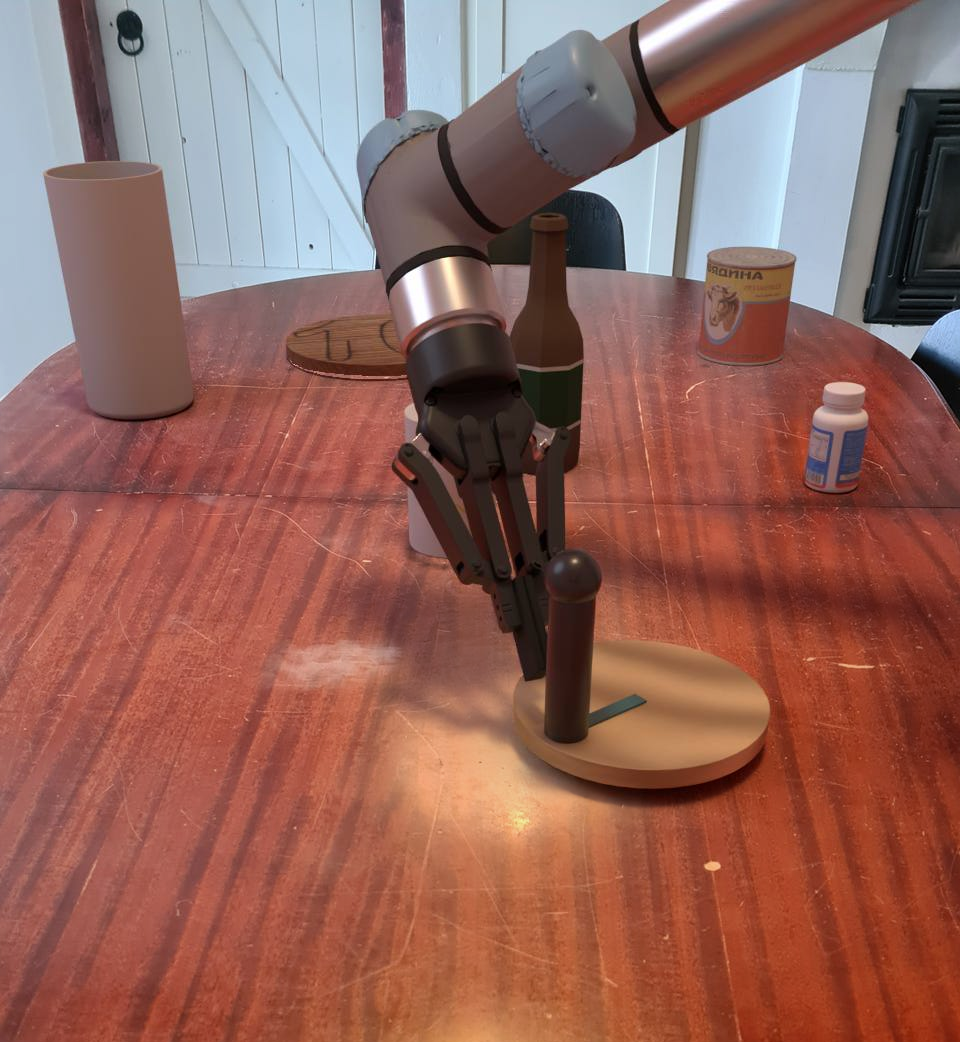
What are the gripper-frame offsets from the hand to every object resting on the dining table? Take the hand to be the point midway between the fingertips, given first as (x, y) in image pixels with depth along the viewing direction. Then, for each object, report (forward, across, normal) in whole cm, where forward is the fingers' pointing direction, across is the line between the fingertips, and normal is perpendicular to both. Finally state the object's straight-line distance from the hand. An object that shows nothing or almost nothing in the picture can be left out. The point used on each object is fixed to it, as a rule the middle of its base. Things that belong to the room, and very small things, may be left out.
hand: (540, 674), depth 83 cm
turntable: (+4, -8, -3) cm, 9 cm away
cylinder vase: (-56, +12, -69) cm, 90 cm away
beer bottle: (-32, -24, -41) cm, 57 cm away
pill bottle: (-20, -49, -28) cm, 60 cm away
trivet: (-64, -22, -75) cm, 101 cm away
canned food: (-52, -66, -60) cm, 103 cm away
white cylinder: (-21, -8, -30) cm, 38 cm away
